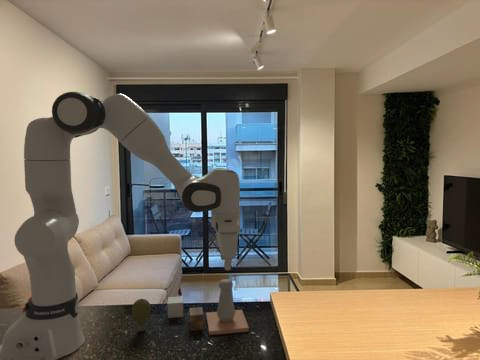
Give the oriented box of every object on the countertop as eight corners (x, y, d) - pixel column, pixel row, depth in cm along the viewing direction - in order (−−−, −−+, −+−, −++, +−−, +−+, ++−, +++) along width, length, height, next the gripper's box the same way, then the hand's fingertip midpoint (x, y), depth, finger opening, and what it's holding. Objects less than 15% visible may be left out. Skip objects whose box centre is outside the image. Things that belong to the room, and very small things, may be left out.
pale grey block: (167, 318, 118) (167, 303, 118) (168, 311, 123) (167, 297, 123) (183, 317, 119) (182, 302, 118) (183, 310, 124) (182, 296, 123)
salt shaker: (232, 325, 111) (232, 284, 109) (214, 323, 112) (214, 283, 110) (237, 316, 116) (236, 277, 115) (219, 314, 117) (219, 276, 116)
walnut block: (190, 331, 110) (189, 315, 109) (189, 323, 115) (189, 308, 114) (203, 329, 111) (203, 314, 110) (202, 321, 116) (202, 307, 115)
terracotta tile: (209, 335, 107) (209, 331, 107) (206, 316, 119) (206, 312, 119) (248, 331, 109) (248, 327, 109) (241, 313, 121) (241, 309, 121)
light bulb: (155, 330, 110) (154, 299, 109) (139, 337, 106) (137, 305, 105) (145, 324, 114) (144, 294, 113) (129, 331, 110) (128, 299, 109)
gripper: (212, 214, 121) (212, 254, 122) (218, 228, 100) (218, 276, 102) (230, 213, 122) (230, 253, 123) (241, 227, 102) (240, 275, 103)
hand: (225, 264), depth 112 cm, fingers open, 8 cm apart
